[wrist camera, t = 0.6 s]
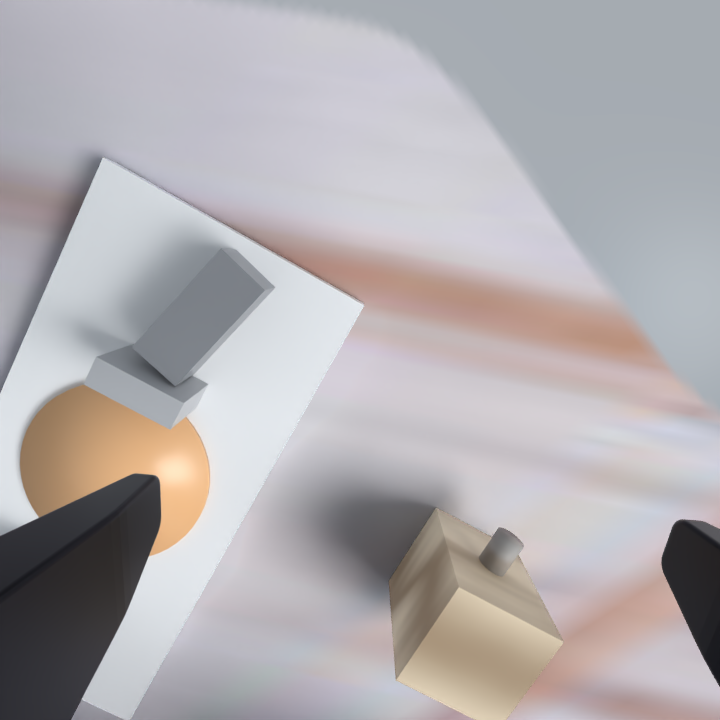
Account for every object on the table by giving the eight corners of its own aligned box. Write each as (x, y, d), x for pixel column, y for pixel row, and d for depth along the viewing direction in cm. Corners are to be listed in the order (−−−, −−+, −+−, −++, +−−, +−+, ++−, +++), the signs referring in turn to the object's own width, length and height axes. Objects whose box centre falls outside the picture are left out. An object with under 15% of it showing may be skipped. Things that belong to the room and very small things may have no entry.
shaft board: (137, 704, 26) (97, 783, 22) (-80, 602, 25) (-162, 665, 21) (364, 303, 22) (363, 312, 18) (115, 162, 21) (57, 138, 17)
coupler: (451, 643, 25) (476, 759, 19) (373, 603, 25) (376, 709, 19) (532, 525, 24) (587, 610, 18) (452, 481, 24) (481, 554, 18)
